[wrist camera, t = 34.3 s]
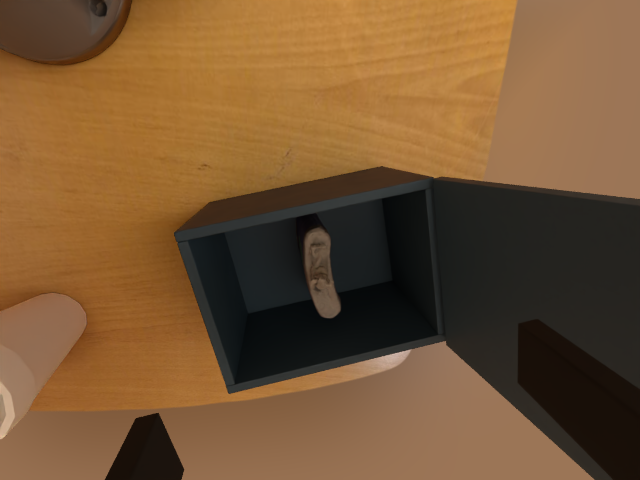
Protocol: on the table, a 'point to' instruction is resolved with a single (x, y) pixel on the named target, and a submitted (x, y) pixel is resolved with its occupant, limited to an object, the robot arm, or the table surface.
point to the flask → (317, 264)
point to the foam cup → (34, 350)
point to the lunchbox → (290, 283)
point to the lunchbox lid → (538, 282)
